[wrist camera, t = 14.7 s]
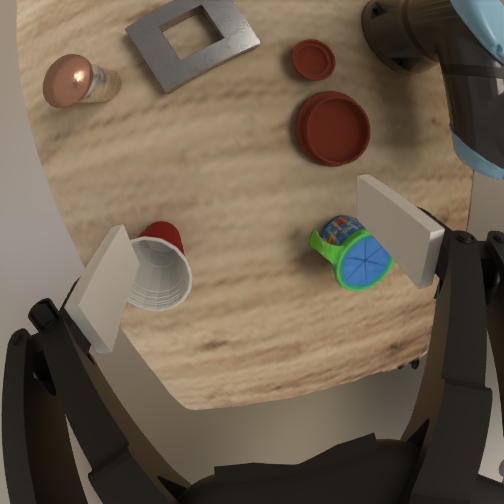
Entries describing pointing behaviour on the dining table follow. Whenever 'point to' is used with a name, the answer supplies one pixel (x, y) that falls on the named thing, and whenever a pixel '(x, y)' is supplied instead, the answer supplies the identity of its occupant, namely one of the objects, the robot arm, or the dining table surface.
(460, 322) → the robot arm
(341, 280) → the snack cup
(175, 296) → the plastic cup
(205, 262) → the dining table surface
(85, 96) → the silver copper-capped cylinder
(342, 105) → the pottery
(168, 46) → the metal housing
